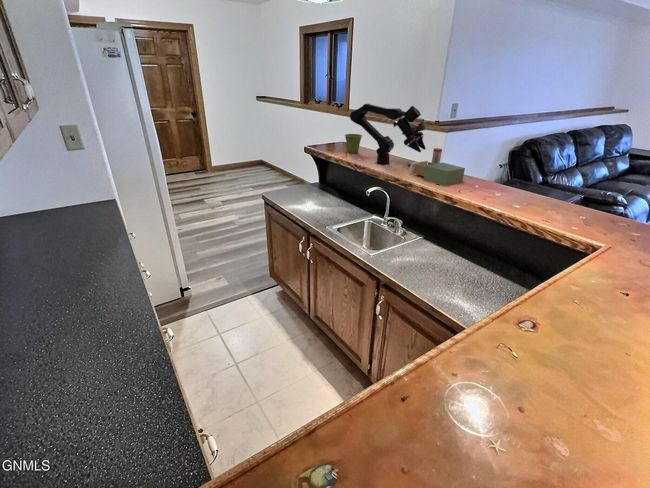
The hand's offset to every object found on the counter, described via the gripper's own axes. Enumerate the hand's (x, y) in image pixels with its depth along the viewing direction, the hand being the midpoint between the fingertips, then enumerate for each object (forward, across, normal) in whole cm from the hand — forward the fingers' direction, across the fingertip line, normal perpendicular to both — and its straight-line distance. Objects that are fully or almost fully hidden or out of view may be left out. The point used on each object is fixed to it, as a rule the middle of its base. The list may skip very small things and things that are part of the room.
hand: (422, 150), depth 194 cm
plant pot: (-30, +19, +44) cm, 56 cm away
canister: (+13, +1, +2) cm, 13 cm away
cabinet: (+19, -18, -4) cm, 26 cm away
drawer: (+10, -12, +3) cm, 16 cm away
